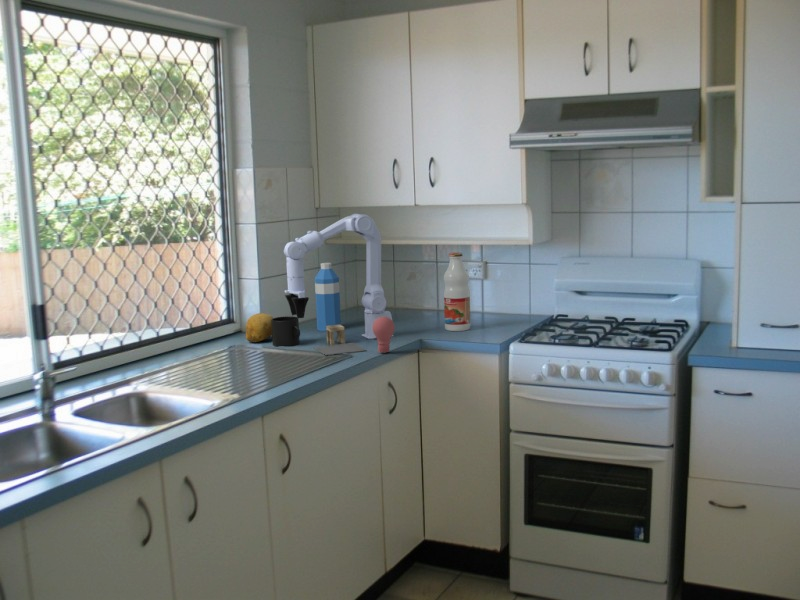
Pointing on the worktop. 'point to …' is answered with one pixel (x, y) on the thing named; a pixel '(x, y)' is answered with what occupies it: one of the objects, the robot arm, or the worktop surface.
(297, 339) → the mug
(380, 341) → the light bulb
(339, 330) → the stool
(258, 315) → the potato
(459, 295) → the fruit juice
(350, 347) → the mat
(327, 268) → the water bottle
